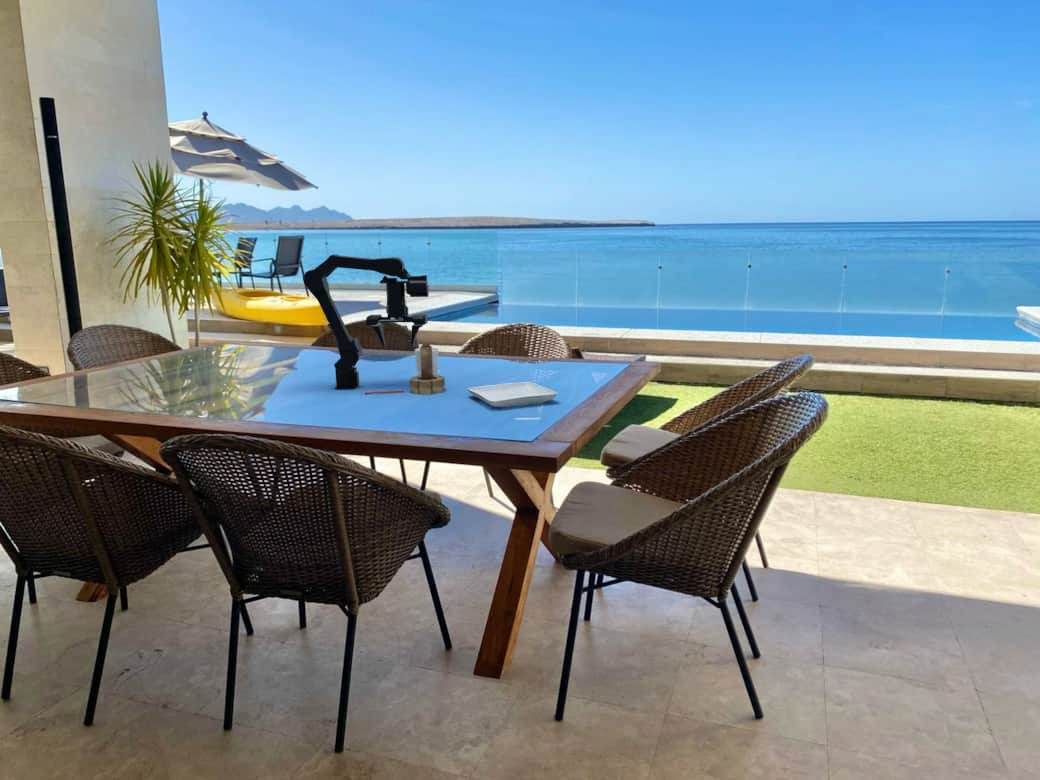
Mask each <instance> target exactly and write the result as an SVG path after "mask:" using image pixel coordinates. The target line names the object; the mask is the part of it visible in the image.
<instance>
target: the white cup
mask: <svg viewBox="0 0 1040 780" xmlns="http://www.w3.org/2000/svg"><path fill="white" fill-rule="evenodd" d="M414 355H415V356H414V358H415V366H416V372H417V374H416V376H420V375H421V355H420V347H418V348H415V349H414ZM432 364H433V375H439V372H438V371H439V348H437V347H432Z"/></svg>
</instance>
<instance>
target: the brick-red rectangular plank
mask: <svg viewBox="0 0 1040 780" xmlns="http://www.w3.org/2000/svg"><path fill="white" fill-rule="evenodd" d="M396 392H401V393H405V390H404V389H402V390H401V389H399V390H381V391H365V392H364V395H373V394H372V393H381V394H394V393H396Z"/></svg>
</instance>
